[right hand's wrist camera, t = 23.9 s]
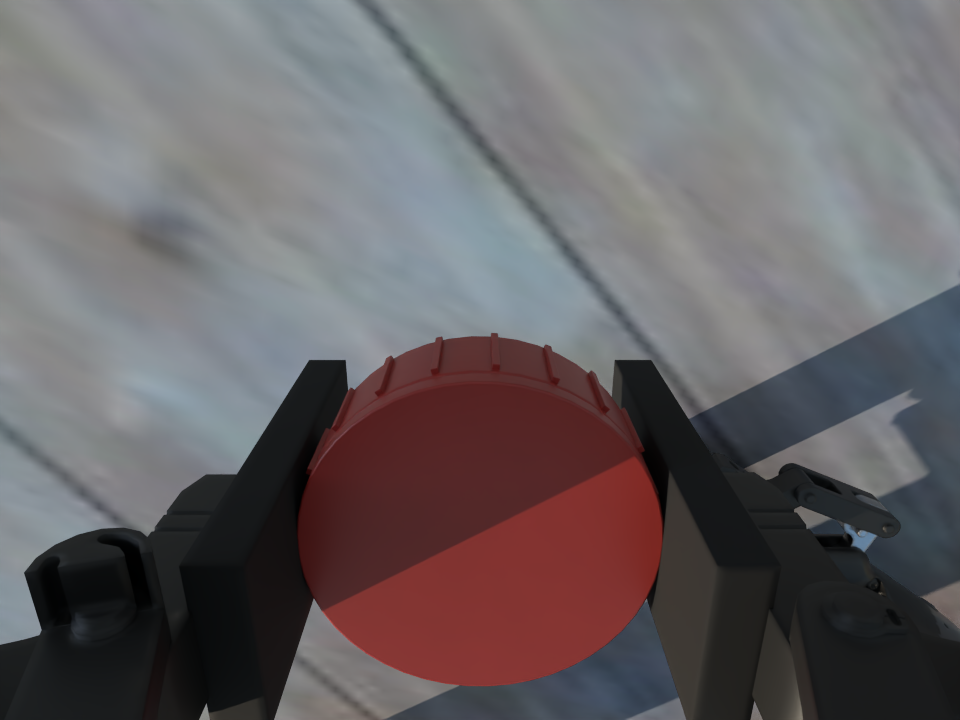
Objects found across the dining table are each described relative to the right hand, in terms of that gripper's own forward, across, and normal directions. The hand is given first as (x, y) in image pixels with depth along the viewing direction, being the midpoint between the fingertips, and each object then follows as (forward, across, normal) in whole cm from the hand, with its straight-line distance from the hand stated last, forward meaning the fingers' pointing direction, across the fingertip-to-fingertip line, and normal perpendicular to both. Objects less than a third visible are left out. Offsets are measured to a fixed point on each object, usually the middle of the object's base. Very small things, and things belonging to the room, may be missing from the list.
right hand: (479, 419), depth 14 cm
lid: (-4, 0, 0) cm, 4 cm away
